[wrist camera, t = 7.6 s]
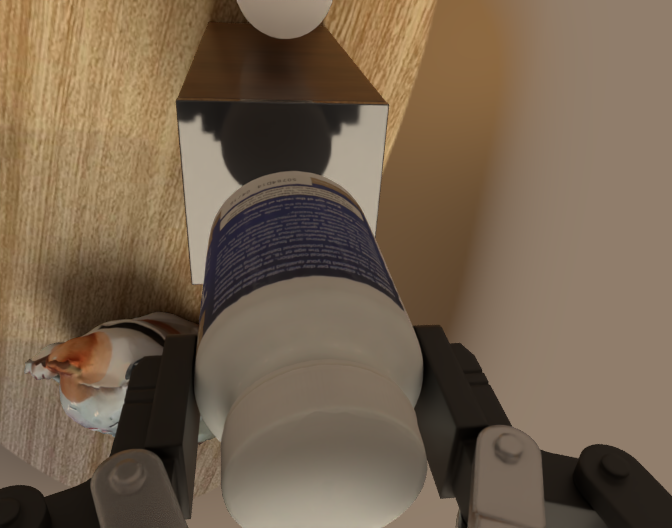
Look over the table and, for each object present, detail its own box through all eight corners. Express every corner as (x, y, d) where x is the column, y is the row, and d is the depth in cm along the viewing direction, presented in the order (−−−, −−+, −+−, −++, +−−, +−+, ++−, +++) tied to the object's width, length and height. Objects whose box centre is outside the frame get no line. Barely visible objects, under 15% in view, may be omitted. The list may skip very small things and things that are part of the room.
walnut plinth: (207, 21, 38) (176, 97, 21) (325, 26, 39) (387, 101, 22) (214, 137, 42) (192, 280, 25) (321, 138, 43) (369, 275, 26)
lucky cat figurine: (70, 406, 53) (-30, 467, 39) (106, 284, 52) (17, 301, 38) (222, 455, 53) (177, 533, 39) (260, 333, 52) (227, 368, 38)
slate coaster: (176, 97, 21) (175, 100, 21) (387, 101, 22) (389, 104, 22) (192, 280, 25) (191, 285, 25) (369, 275, 26) (371, 280, 26)
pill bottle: (175, 212, 18) (118, 460, 10) (328, 137, 17) (406, 330, 9) (257, 330, 21) (268, 600, 12) (391, 268, 20) (495, 507, 12)
